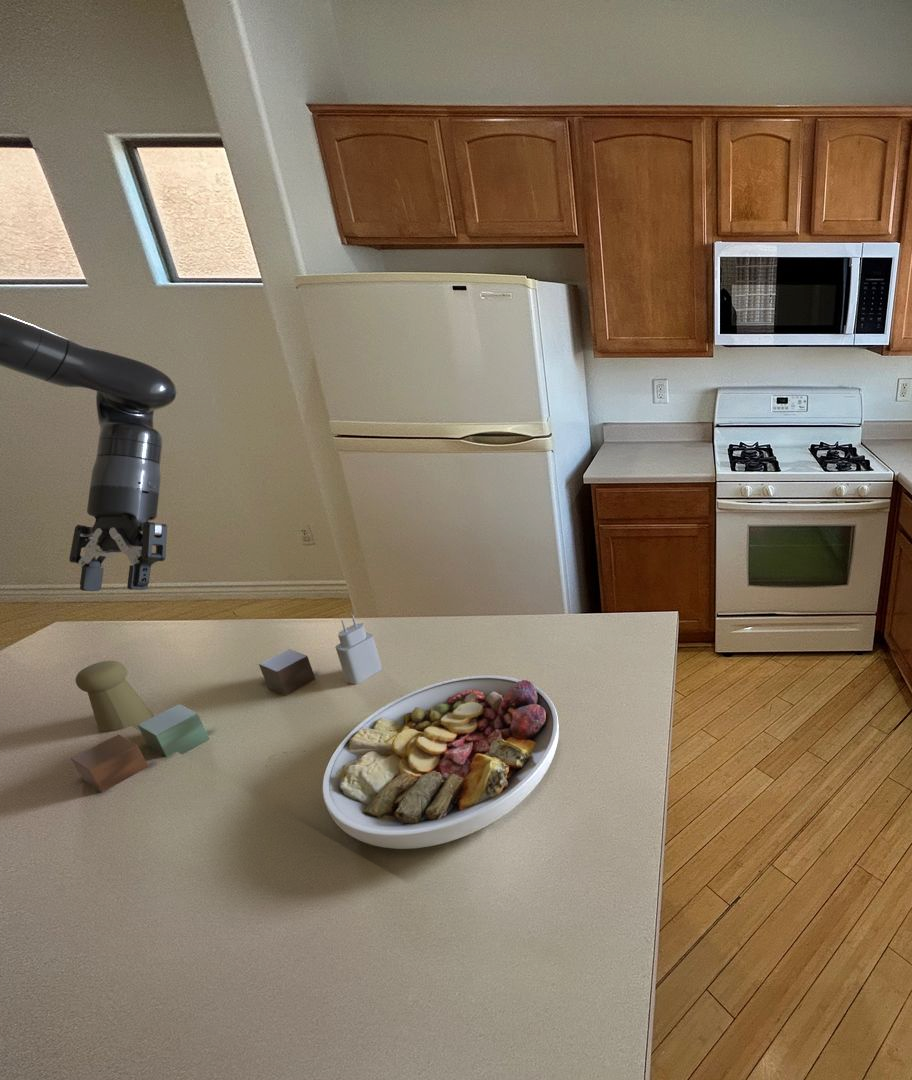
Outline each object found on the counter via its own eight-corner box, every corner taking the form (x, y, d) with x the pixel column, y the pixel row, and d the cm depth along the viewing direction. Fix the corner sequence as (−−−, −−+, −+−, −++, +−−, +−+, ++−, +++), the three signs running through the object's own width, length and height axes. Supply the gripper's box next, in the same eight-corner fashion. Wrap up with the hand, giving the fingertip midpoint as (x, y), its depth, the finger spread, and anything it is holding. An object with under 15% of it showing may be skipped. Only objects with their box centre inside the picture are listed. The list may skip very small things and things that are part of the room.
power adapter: (384, 668, 101) (368, 612, 96) (355, 685, 97) (337, 627, 92) (372, 663, 102) (356, 608, 97) (344, 680, 98) (325, 623, 93)
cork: (109, 717, 88) (78, 661, 84) (159, 706, 91) (131, 650, 87) (92, 742, 84) (58, 683, 79) (145, 729, 86) (115, 672, 82)
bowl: (397, 915, 61) (380, 867, 58) (296, 781, 78) (279, 738, 74) (602, 754, 83) (599, 713, 80) (490, 676, 100) (483, 639, 96)
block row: (104, 798, 75) (88, 770, 73) (86, 785, 76) (70, 758, 74) (315, 679, 98) (307, 655, 96) (297, 671, 100) (289, 648, 98)
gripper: (57, 485, 85) (43, 590, 83) (136, 481, 83) (124, 588, 81) (115, 495, 92) (104, 592, 90) (190, 491, 91) (179, 590, 89)
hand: (113, 590), depth 86 cm, fingers open, 8 cm apart
